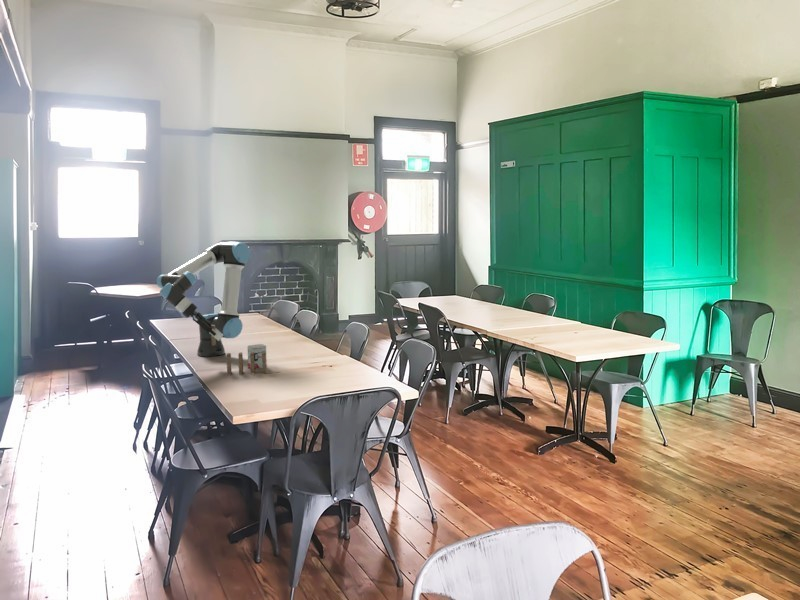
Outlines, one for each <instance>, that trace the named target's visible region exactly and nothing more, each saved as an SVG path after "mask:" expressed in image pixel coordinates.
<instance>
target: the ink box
mask: <svg viewBox="0 0 800 600" xmlns="http://www.w3.org/2000/svg"><path fill="white" fill-rule="evenodd" d="M251 352H254V361H255V362H254V364H255V370H257V369H256V368H259V369H263V367H262V352H266V353H267V345H266V344H262V343H258V344H250V345H247V368H248V369H250V370H251V361H250V353H251ZM267 365H268V364H267V359H266V368H267V367H268V366H267Z"/></svg>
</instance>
